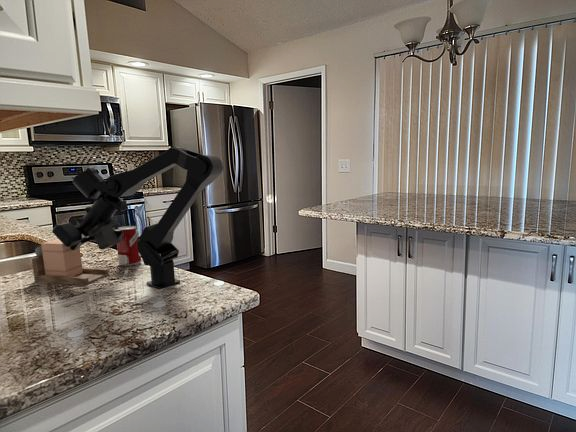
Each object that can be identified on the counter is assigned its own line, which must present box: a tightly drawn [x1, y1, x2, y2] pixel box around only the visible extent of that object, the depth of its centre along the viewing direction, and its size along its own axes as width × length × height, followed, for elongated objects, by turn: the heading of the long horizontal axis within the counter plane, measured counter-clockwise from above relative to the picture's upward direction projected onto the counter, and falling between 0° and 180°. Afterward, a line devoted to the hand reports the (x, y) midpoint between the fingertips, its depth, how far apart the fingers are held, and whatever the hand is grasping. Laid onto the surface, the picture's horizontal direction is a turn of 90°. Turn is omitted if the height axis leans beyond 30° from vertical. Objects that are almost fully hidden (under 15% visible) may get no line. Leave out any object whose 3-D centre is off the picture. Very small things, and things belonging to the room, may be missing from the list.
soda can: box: [116, 225, 142, 267], centre depth 120 cm, size 7×7×12 cm
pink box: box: [40, 238, 83, 277], centre depth 108 cm, size 7×6×10 cm
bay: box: [31, 245, 110, 286], centre depth 107 cm, size 18×9×10 cm, turn 77°
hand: (72, 249), depth 106 cm, fingers closed, pressing on pink box
